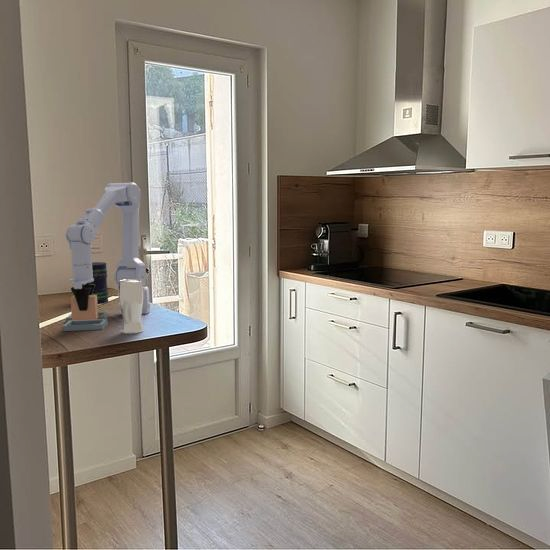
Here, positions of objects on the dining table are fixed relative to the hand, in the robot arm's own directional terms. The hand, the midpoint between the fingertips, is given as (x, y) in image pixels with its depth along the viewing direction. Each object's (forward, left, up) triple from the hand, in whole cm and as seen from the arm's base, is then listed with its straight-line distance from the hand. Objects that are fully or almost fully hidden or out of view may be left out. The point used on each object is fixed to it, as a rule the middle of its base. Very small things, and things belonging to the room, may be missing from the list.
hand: (84, 309), depth 168 cm
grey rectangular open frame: (+2, -13, -6) cm, 14 cm away
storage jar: (+6, -46, -6) cm, 47 cm away
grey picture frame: (0, 0, -6) cm, 6 cm away
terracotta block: (0, 0, -3) cm, 3 cm away
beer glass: (-15, +8, -6) cm, 18 cm away
